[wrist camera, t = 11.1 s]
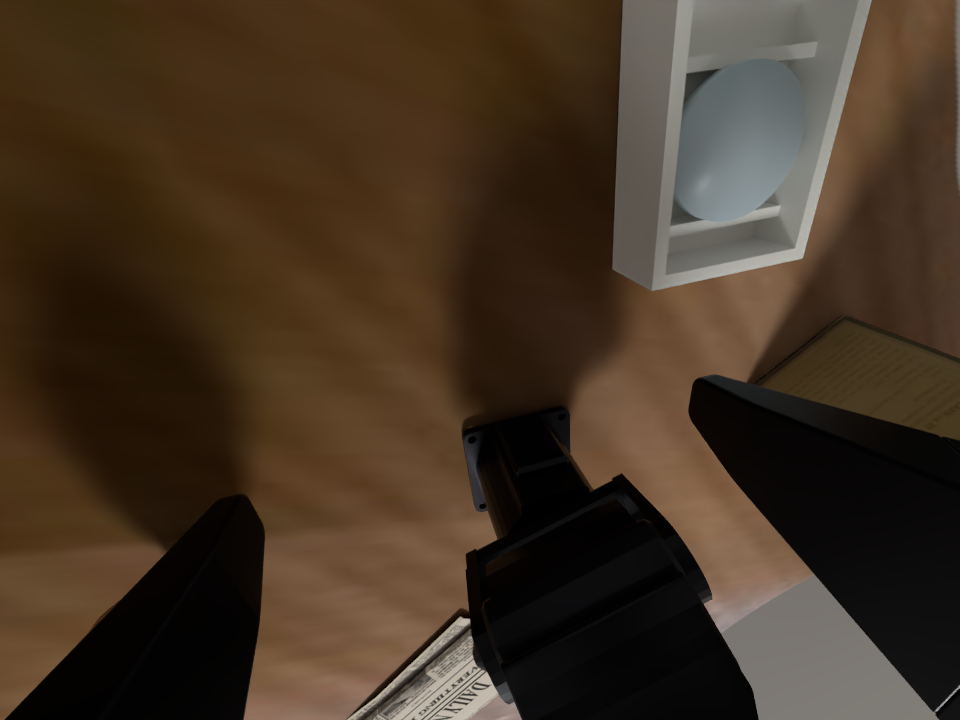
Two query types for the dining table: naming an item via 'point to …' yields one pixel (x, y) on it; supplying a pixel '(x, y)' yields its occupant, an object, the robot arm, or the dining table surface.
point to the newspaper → (436, 683)
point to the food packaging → (875, 377)
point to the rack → (726, 131)
